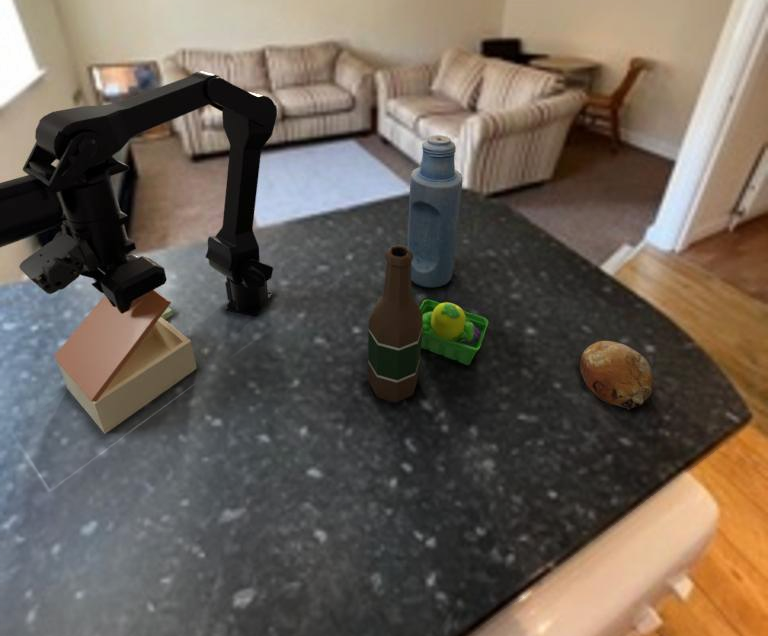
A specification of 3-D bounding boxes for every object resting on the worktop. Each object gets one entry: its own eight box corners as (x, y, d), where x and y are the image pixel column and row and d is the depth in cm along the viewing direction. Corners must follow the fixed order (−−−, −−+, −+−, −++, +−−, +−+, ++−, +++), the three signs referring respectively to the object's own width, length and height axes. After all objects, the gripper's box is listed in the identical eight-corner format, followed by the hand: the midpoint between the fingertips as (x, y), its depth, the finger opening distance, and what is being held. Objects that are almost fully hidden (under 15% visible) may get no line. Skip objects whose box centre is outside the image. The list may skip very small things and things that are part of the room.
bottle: (459, 270, 94) (475, 136, 82) (439, 295, 87) (453, 152, 74) (419, 255, 99) (429, 126, 86) (396, 278, 91) (403, 140, 79)
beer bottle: (366, 362, 72) (368, 235, 61) (414, 360, 72) (424, 234, 62) (369, 406, 64) (371, 270, 54) (422, 403, 65) (434, 268, 55)
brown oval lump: (639, 391, 72) (647, 343, 72) (658, 423, 62) (668, 367, 62) (573, 374, 75) (582, 327, 75) (582, 401, 65) (592, 347, 65)
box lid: (129, 270, 69) (125, 268, 68) (171, 302, 62) (167, 300, 62) (58, 358, 63) (53, 357, 63) (96, 402, 57) (90, 401, 57)
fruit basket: (486, 341, 76) (494, 288, 72) (472, 380, 69) (481, 324, 64) (423, 320, 81) (427, 269, 76) (404, 354, 73) (408, 300, 68)
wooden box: (157, 334, 76) (150, 307, 73) (196, 368, 70) (191, 340, 67) (67, 388, 66) (56, 360, 63) (105, 434, 60) (94, 404, 57)
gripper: (-11, 213, 55) (28, 311, 62) (51, 270, 45) (89, 380, 52) (86, 182, 63) (111, 272, 70) (157, 226, 54) (178, 325, 60)
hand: (121, 308), depth 63 cm, fingers closed
